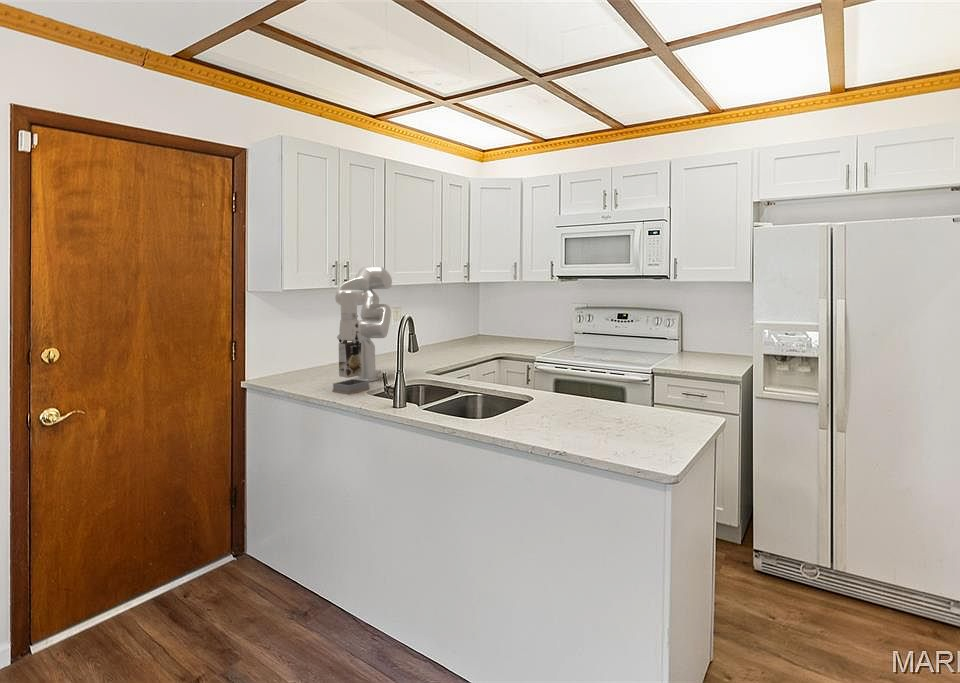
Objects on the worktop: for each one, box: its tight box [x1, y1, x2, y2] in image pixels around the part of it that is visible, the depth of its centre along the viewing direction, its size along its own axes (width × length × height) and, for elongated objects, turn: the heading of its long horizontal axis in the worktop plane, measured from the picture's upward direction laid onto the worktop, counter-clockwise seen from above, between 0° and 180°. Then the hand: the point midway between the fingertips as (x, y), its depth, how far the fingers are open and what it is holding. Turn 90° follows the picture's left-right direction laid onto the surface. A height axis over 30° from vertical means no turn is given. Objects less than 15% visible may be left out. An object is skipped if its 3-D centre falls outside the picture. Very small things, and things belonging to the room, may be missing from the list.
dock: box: [332, 378, 371, 395], centre depth 273 cm, size 14×11×4 cm
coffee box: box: [338, 341, 362, 379], centre depth 271 cm, size 9×6×16 cm
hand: (350, 353), depth 271 cm, fingers closed on coffee box, 6 cm apart
